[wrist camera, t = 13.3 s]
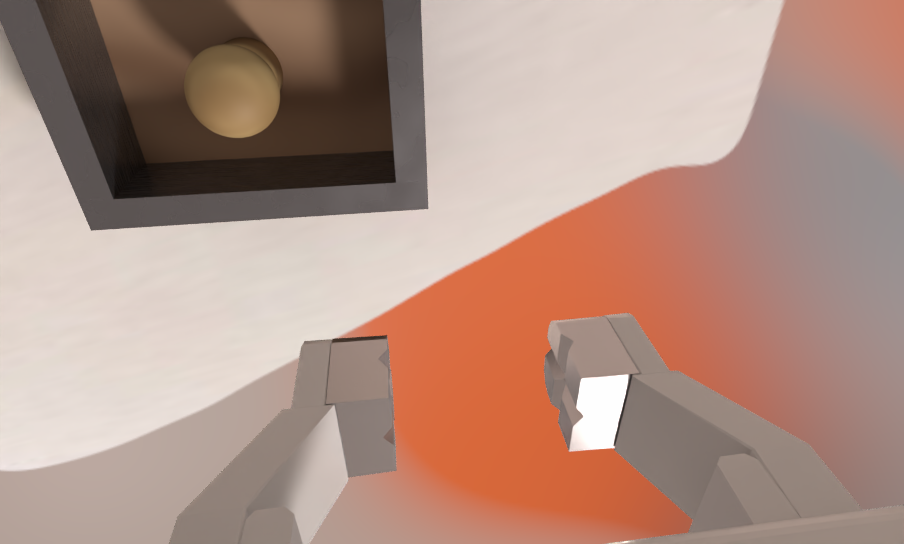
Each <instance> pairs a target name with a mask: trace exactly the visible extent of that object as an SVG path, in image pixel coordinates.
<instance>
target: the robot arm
mask: <svg viewBox="0 0 904 544" xmlns="http://www.w3.org/2000/svg"><path fill="white" fill-rule="evenodd" d="M547 338H548V340H549V343H550V346H551V348H552V349H551V350H550V351H549V352H548V353H547V354H546V356H545V366H544V373H545V384H546V388H547V392H548V395H549V398H550V401H551V404H552V405H554V406H555V407H557V408H558V409H559V410H560V414H559V420H558V423H559V426H560V428H561V431H562V434H563V436H564V439H565V442H566V444H567V447H568V450H569V451H578V450H591V449H603V448H615V449H614V450H615V451H616V452H617V453H618V454H620V455H621V456H622V457H623V458H624V459H625V460H626V461H627V462H629V463H630V464H631V465H632V466H633V467H634V468H636V470H638V471H639V472H640V473H641V474H642V475H643V476H644V477H645V478H647V479H648V480H649V481H650V482H651V483H652V484H653V485H654V486H656V487H657V488H658V489H659V490H660V491H661V492H662V493H663V494H665V495H666V496H667V497H668V498H669V499H671V501H672V502H674V503H675V504H676V505H677V506H678V507H679V508H680V509H681V510H682V511H684V512H685V513H686V514H687V515H688V516H689V517H690V518H691V519H693V522H692V525H691V527H690V530H689V532H688V533H684V534H676V535H669V536H661V537H653V538H646V539H638V540H630V541H623V542H615V543H608V544H904V505H899V506H892V507H883V508H876V509H868V510H862V508H861V507H860V506H859V505H858V503H857V502H856V501H855V500H854V499H853V497H852V496H851V495H850V494H849V493H848V491H847V490H846V489H845V488H844V486H843V485H842V484H841V483H840V482H839V480H838V479H837V478H836V477H835V476H834V474H833V473H832V472H831V471H830V469H829V468H828V467H827V466H826V464H825V463H824V462H823V461H822V460H821V458H820V457H819V456H818V455H817V454H816V453H815V451H814V450H813V449H812V447H811V446H810V445H809V444H807V443H806V442H804V441H802V440H800V439H798V438H797V437H795V436H793V435H791V434H790V433H787V432H786V431H784V430H782V429H781V428H779V427H777V426H775V425H774V424H772V423H770V422H768V421H766V420H765V419H763V418H761V417H759V416H757V415H756V414H754V413H752V412H750V411H749V410H747V409H745V408H743V407H741V406H740V405H738V404H736V403H734V402H733V401H731V400H729V399H727V398H725V397H724V396H722V395H720V394H718V393H717V392H715V391H713V390H711V389H709V388H708V387H706V386H704V385H702V384H700V383H699V382H697V381H695V380H693V379H692V378H690V377H688V376H686V375H685V374H683V373H681V372H679V371H669V369H668V368H667V366H666V365H665V363H664V362H663V360H662V359H661V357H660V356H659V354H658V353H657V351H656V350H655V348H654V347H653V345H652V344H651V342H650V341H649V339H648V338H647V336H646V335H645V333H644V332H643V330H642V329H641V327H640V325H639V324H638V322H637V321H636V320H635V318H634V316H632V315H631V314H629V313H624V314H616V315H615V314H614V315H606V316H602V317H591V318H581V319H571V320H570V319H569V320H559V321H551V323H550V326H549V329H548V337H547ZM389 471H396V446H395V432H394V405H393V389H392V377H391V370H390V360H389V347H388V339H387V335H386V336H371V337H356V338H339V339H333V340H316V341H304V343H303V345H302V347H301V351H300V357H299V363H298V369H297V376H296V382H295V388H294V394H293V400H292V406H291V409H285V410H282V411H281V412H280V413H279V414H278V415H277V416H276V417H275V418H274V419H273V420H272V421H271V422H270V423H269V424H268V425H267V426H266V427H265V428H264V429H263V430H262V431H261V432H260V433H259V434H258V435H257V436H256V437H255V438H254V439H253V440H252V441H251V442H250V443H249V444H248V445H247V446H246V447H245V448H244V449H243V450H242V451H241V452H240V454H238V456H237V457H236V458H235V459H234V460H233V461H232V462H231V463H230V464H229V465H228V466H227V467H226V468H225V469H224V470H223V471H222V472H221V473H220V474H219V475H218V476H217V477H216V478H215V479H214V480H213V481H212V482H211V483H210V484H209V485H208V486H207V487H206V488H205V489H204V490H203V491H202V492H201V493H200V494H199V495H198V496H197V497H196V498H195V499H194V500H193V501H192V502H191V503H190V505H189V506H187V507H186V508H185V510H184V511H183V512H182V513H181V514H180V515H179V516H178V517H177V520H176V523H175V526H174V530H173V533H172V536H171V539H170V542H169V544H309V543H310V542H311V540H312V538H313V537H314V535H315V534H316V532H317V530H318V529H319V527H320V525H321V524H322V522H323V521H324V519H325V517H326V516H327V514H328V512H329V511H330V509H331V508H332V506H333V504H334V503H335V501H336V500H337V498H338V496H339V495H340V493H341V492H342V490H343V488H344V487H345V485H346V483H347V482H348V477H353V476H361V475H369V474H375V473H383V472H389Z"/></svg>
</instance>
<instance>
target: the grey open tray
mask: <svg viewBox="0 0 904 544" xmlns="http://www.w3.org/2000/svg"><path fill="white" fill-rule="evenodd" d="M382 4H383V18H384V31H385V45H386V59H387V73H388V87H389V101H390V115H391V129H392V143H393V150H392V151H373V152H354V153H335V154H316V155H297V156H279V157H260V158H241V159H222V160H203V161H184V162H165V163H146V162H145V159H144V156H143V153H142V150H141V147H140V144H139V141H138V138H137V136H136V133H135V130H134V127H133V124H132V121H131V118H130V115H129V112H128V109H127V106H126V103H125V100H124V98H123V95H122V92H121V89H120V86H119V83H118V80H117V77H116V74H115V71H114V68H113V65H112V62H111V59H110V57H109V54H108V51H107V48H106V45H105V42H104V39H103V36H102V33H101V30H100V27H99V24H98V21H97V18H96V16H95V13H94V10H93V7H92V4H91V1H90V0H0V21H1V23H2V25H3V28H4V30H5V32H6V35H7V37H8V39H9V42H10V44H11V46H12V49H13V51H14V53H15V56H16V58H17V60H18V62H19V65H20V67H21V69H22V72H23V74H24V76H25V79H26V81H27V83H28V86H29V88H30V90H31V92H32V95H33V97H34V99H35V102H36V104H37V106H38V109H39V111H40V113H41V116H42V118H43V120H44V123H45V125H46V127H47V129H48V132H49V134H50V136H51V139H52V141H53V143H54V146H55V148H56V150H57V153H58V155H59V157H60V159H61V162H62V164H63V166H64V169H65V171H66V173H67V176H68V178H69V180H70V183H71V185H72V187H73V189H74V192H75V194H76V196H77V199H78V201H79V203H80V206H81V208H82V210H83V213H84V215H85V217H86V220H87V222H88V224H89V226H90V229H91V230H105V229H120V228H136V227H152V226H167V225H183V224H199V223H214V222H230V221H246V220H261V219H277V218H293V217H308V216H324V215H340V214H355V213H371V212H387V211H402V210H418V209H428V190H427V163H426V136H425V108H424V81H423V54H422V26H421V0H382Z"/></svg>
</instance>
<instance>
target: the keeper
mask: <svg viewBox="0 0 904 544" xmlns="http://www.w3.org/2000/svg"><path fill="white" fill-rule="evenodd" d="M90 1H91V4H92V7H93V10H94V13H95V16H96V18H97V21H98V24H99V27H100V30H101V33H102V36H103V39H104V42H105V45H106V48H107V51H108V54H109V57H110V59H111V62H112V65H113V68H114V71H115V74H116V77H117V80H118V83H119V86H120V89H121V92H122V95H123V98H124V100H125V103H126V106H127V109H128V112H129V115H130V118H131V121H132V124H133V127H134V130H135V133H136V136H137V138H138V141H139V144H140V147H141V150H142V153H143V156H144V159H145V162H146V163H165V162H184V161H203V160H222V159H241V158H260V157H279V156H297V155H316V154H335V153H354V152H373V151H392V150H393V143H392V129H391V115H390V101H389V87H388V73H387V59H386V45H385V31H384V18H383V4H382V0H90Z"/></svg>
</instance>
